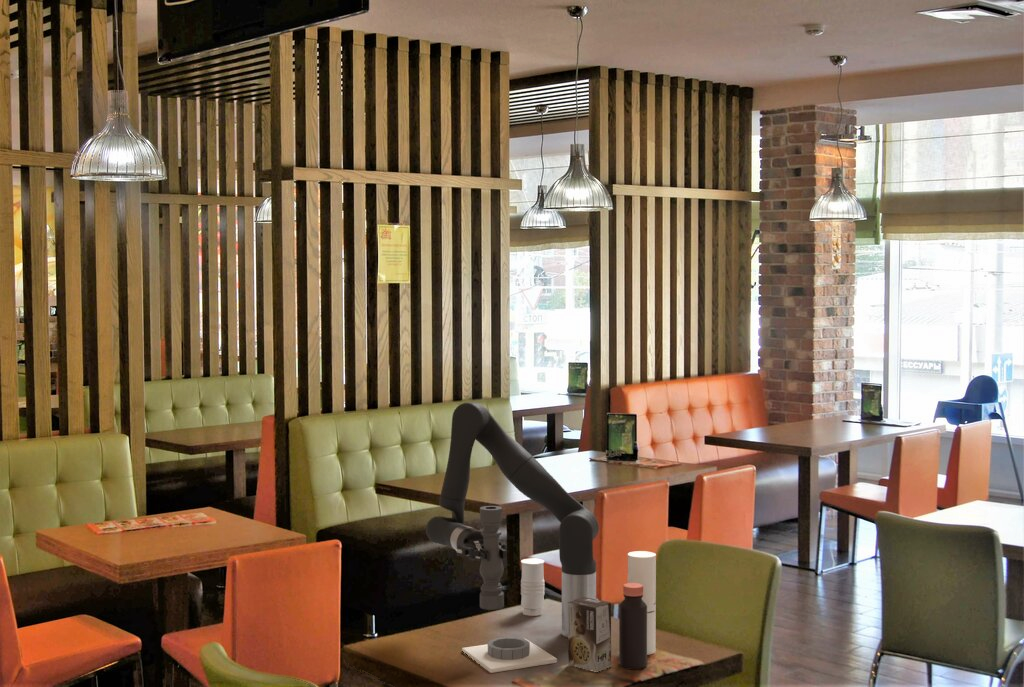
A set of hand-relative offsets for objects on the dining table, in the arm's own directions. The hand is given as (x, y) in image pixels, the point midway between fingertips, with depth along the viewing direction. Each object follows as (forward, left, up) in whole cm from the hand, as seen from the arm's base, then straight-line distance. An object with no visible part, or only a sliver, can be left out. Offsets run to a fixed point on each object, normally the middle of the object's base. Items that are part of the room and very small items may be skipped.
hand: (496, 555), depth 282 cm
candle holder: (0, -3, -14) cm, 14 cm away
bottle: (-29, +18, -27) cm, 43 cm away
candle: (-27, -34, -27) cm, 51 cm away
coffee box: (-19, +14, -27) cm, 36 cm away
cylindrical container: (-37, +9, -27) cm, 46 cm away
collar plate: (-4, -1, -27) cm, 27 cm away
